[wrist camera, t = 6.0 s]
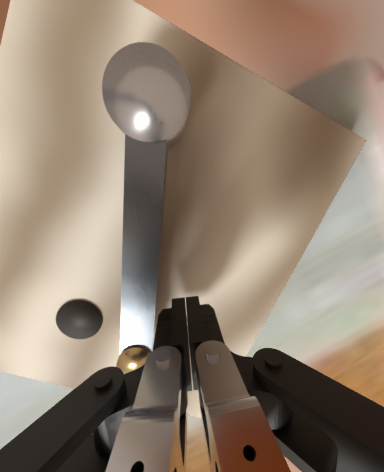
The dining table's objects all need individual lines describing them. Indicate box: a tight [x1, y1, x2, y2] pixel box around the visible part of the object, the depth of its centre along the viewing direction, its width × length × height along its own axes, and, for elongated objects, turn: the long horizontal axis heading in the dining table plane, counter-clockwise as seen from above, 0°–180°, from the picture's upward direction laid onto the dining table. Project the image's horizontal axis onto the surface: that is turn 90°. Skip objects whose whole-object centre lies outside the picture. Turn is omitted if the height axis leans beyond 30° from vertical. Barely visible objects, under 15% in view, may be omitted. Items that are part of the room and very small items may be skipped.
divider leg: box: [102, 42, 191, 374], centre depth 10 cm, size 14×3×2 cm, turn 174°
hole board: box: [0, 0, 366, 418], centre depth 12 cm, size 18×21×2 cm
